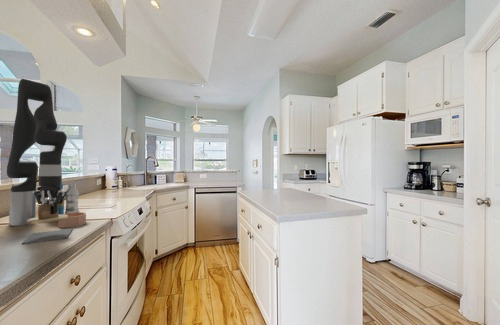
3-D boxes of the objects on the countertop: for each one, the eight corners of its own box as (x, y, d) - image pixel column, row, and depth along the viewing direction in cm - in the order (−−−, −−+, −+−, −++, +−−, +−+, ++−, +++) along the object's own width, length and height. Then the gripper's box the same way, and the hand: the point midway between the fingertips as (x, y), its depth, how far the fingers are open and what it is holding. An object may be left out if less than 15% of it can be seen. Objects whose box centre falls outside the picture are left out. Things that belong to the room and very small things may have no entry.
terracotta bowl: (52, 226, 109) (52, 216, 109) (72, 221, 120) (72, 212, 120) (72, 227, 108) (72, 217, 108) (90, 221, 119) (91, 212, 119)
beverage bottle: (44, 221, 119) (45, 185, 119) (44, 218, 124) (44, 183, 124) (65, 218, 125) (65, 184, 125) (63, 216, 130) (63, 183, 130)
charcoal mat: (21, 244, 86) (21, 243, 86) (32, 234, 98) (32, 233, 98) (67, 238, 93) (67, 237, 93) (72, 229, 105) (72, 228, 105)
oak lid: (18, 223, 89) (18, 206, 89) (50, 215, 102) (50, 201, 102) (46, 224, 88) (46, 207, 88) (75, 216, 101) (75, 202, 101)
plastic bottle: (73, 219, 122) (73, 184, 122) (61, 219, 122) (61, 184, 122) (82, 217, 129) (82, 183, 129) (70, 216, 129) (71, 183, 129)
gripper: (26, 175, 92) (26, 215, 92) (56, 175, 91) (55, 216, 91) (45, 174, 100) (44, 211, 100) (72, 174, 98) (72, 212, 98)
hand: (50, 213), depth 95 cm, fingers closed on oak lid, 3 cm apart
